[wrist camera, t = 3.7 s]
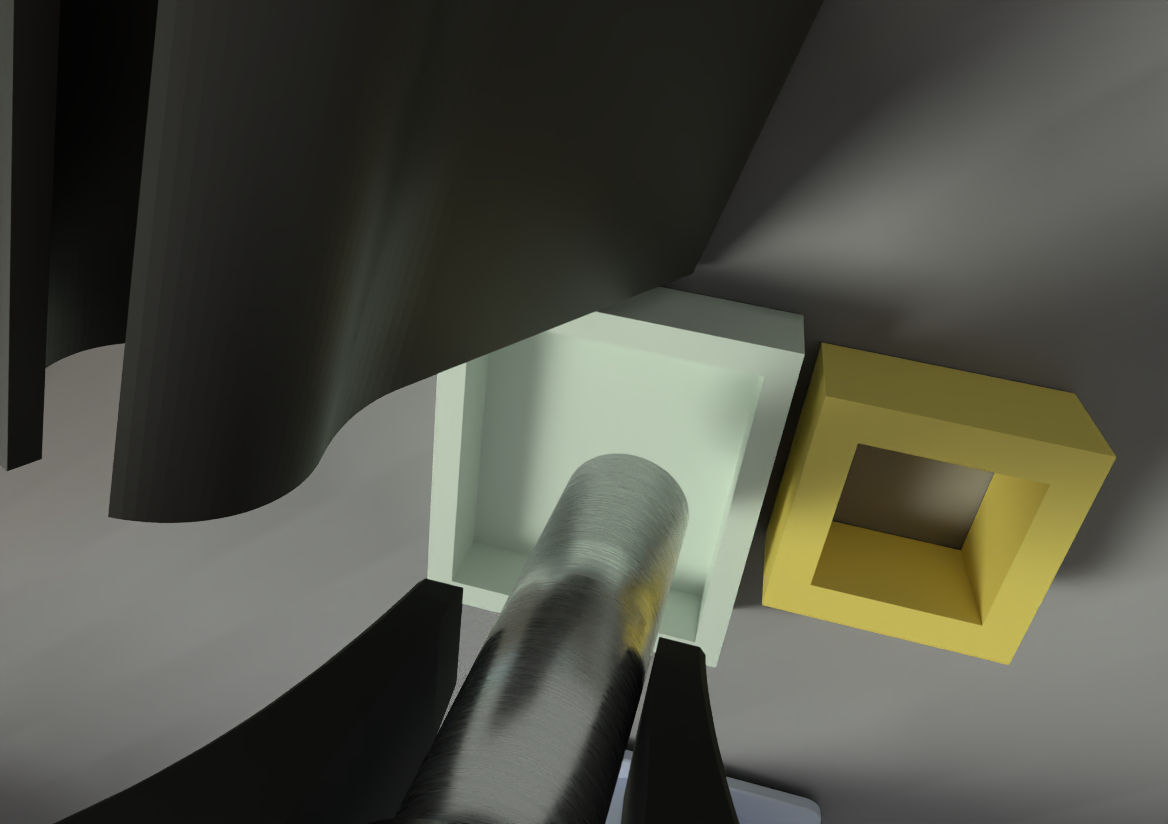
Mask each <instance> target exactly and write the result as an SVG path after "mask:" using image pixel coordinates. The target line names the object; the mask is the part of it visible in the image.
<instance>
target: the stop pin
mask: <svg viewBox="0 0 1168 824" xmlns="http://www.w3.org/2000/svg"><path fill="white" fill-rule="evenodd" d="M688 521H689V508H688V503H687V500H686V497H685V494H684V492H683V490H682V489H681V487H680V486H679V484H678V483H677V481H676V480H675V479H674V478H673V477H672V476H671V475H670V474H669V473H668V472H667V471H666V470H664V469H663V468H661V467H660V466H659V465H657V464H655V463H653V462H651V461H649V460H647V459H645V458H642V457H638V456H635V455H630V454H621V453H615V454H605V455H601V456H597V457H595V458H592V459H590V460H588V461H586V462H585V463H583V464H582V465H581V466H580V467H578V468H577V470H576V471H575V472H574V473H573V474H572V476H571V478H570V479H569V481H568V483H567V485H566V487H565V489H564V491H563V493H562V495H561V497H560V499H559V501H558V503H557V504H556V506H555V508H554V510H553V512H552V514H551V516H550V518H549V520H548V522H547V524H546V526H545V528H544V530H543V531H542V533H541V535H540V537H539V539H538V541H537V543H536V545H535V547H534V549H533V551H532V553H531V555H530V556H529V558H528V560H527V562H526V564H525V566H524V568H523V570H522V572H521V574H520V576H519V578H518V580H517V581H516V583H515V585H514V587H513V589H512V591H511V593H510V595H509V597H508V599H507V601H506V603H505V605H504V607H503V608H502V610H501V612H500V614H499V616H498V618H497V620H496V622H495V624H494V626H493V628H492V630H491V632H490V633H489V635H488V637H487V639H486V641H485V643H484V645H483V647H482V649H481V651H480V653H479V655H478V657H477V658H476V660H475V662H474V664H473V666H472V668H471V670H470V672H469V674H468V676H467V678H466V680H465V682H464V684H463V685H462V687H461V689H460V691H459V693H458V695H457V697H456V699H455V701H454V703H453V705H452V707H451V709H450V710H449V712H448V714H447V716H446V718H445V720H444V722H443V724H442V726H441V728H440V730H439V732H438V734H437V735H436V737H435V739H434V741H433V743H432V745H431V747H430V749H429V751H428V753H427V755H426V757H425V759H424V761H423V762H422V764H421V766H420V768H419V770H418V772H417V774H416V776H415V778H414V780H413V782H412V784H411V786H410V787H409V789H408V791H407V793H406V795H405V797H404V799H403V801H402V803H401V805H400V807H399V809H398V811H397V812H396V814H395V816H394V818H391V819H383V820H378V821H374V822H370V823H368V824H605V823H606V819H607V816H608V812H609V809H610V805H611V801H612V798H613V794H614V790H615V787H616V783H617V780H618V776H619V772H620V769H621V765H622V761H623V758H624V754H625V751H626V747H627V743H628V740H629V736H630V733H631V729H632V725H633V722H634V718H635V714H636V711H637V707H638V704H639V700H640V696H641V693H642V689H643V686H644V682H645V678H646V675H647V671H648V667H649V664H650V660H651V657H652V653H653V649H654V646H655V642H656V639H657V635H658V631H659V628H660V624H661V620H662V617H663V613H664V610H665V606H666V602H667V599H668V595H669V592H670V588H671V584H672V581H673V577H674V573H675V570H676V566H677V563H678V559H679V555H680V552H681V548H682V545H683V541H684V537H685V534H686V530H687V526H688Z"/></svg>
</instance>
